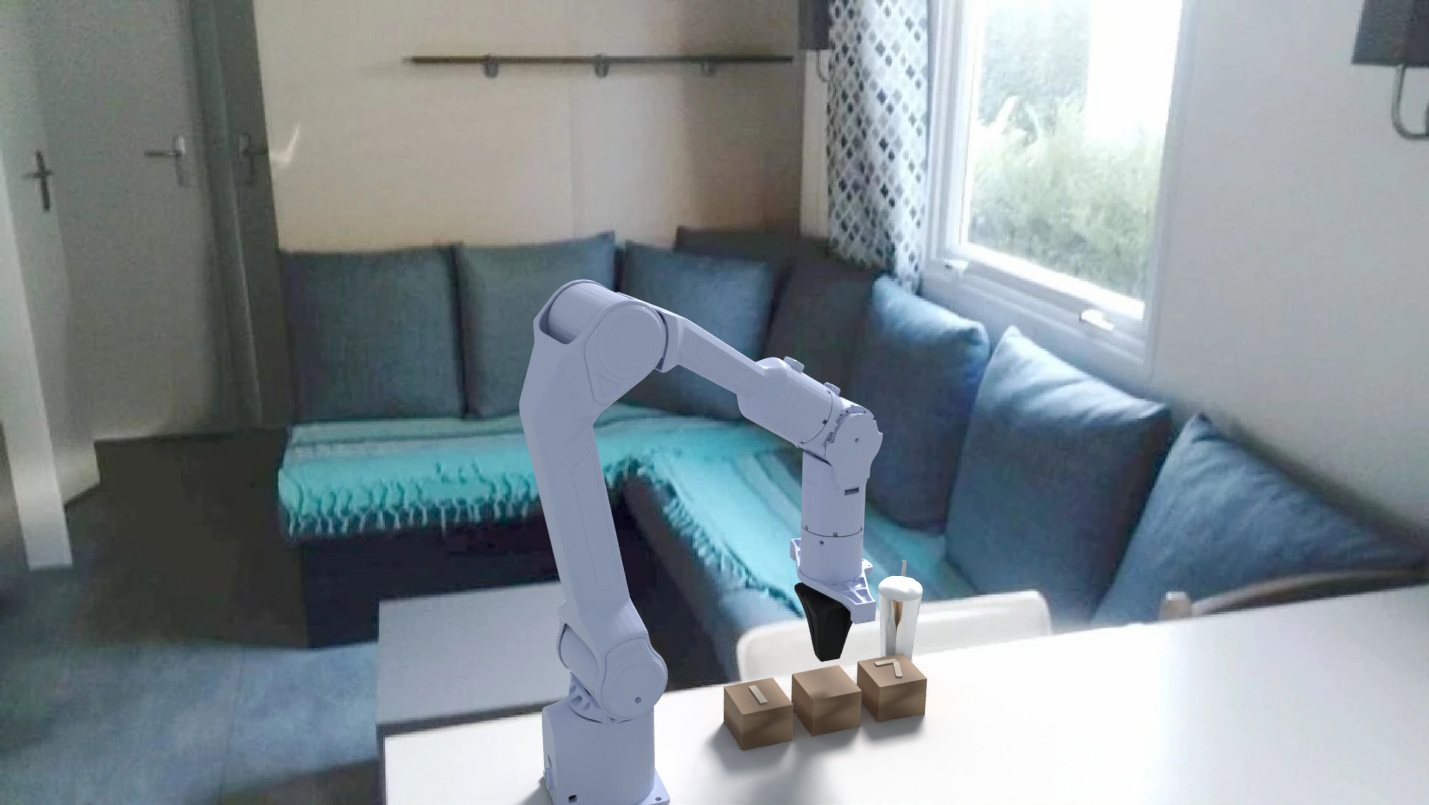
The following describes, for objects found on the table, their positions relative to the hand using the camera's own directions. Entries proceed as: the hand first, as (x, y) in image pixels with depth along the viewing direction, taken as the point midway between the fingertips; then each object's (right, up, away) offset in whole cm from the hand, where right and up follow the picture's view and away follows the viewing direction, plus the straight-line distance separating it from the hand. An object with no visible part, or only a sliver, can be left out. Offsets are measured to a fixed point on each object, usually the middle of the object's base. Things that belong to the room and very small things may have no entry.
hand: (827, 657), depth 109 cm
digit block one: (-7, -7, 0) cm, 10 cm away
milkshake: (+9, -3, +13) cm, 16 cm away
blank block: (0, -6, +2) cm, 7 cm away
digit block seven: (+7, -6, +4) cm, 10 cm away
